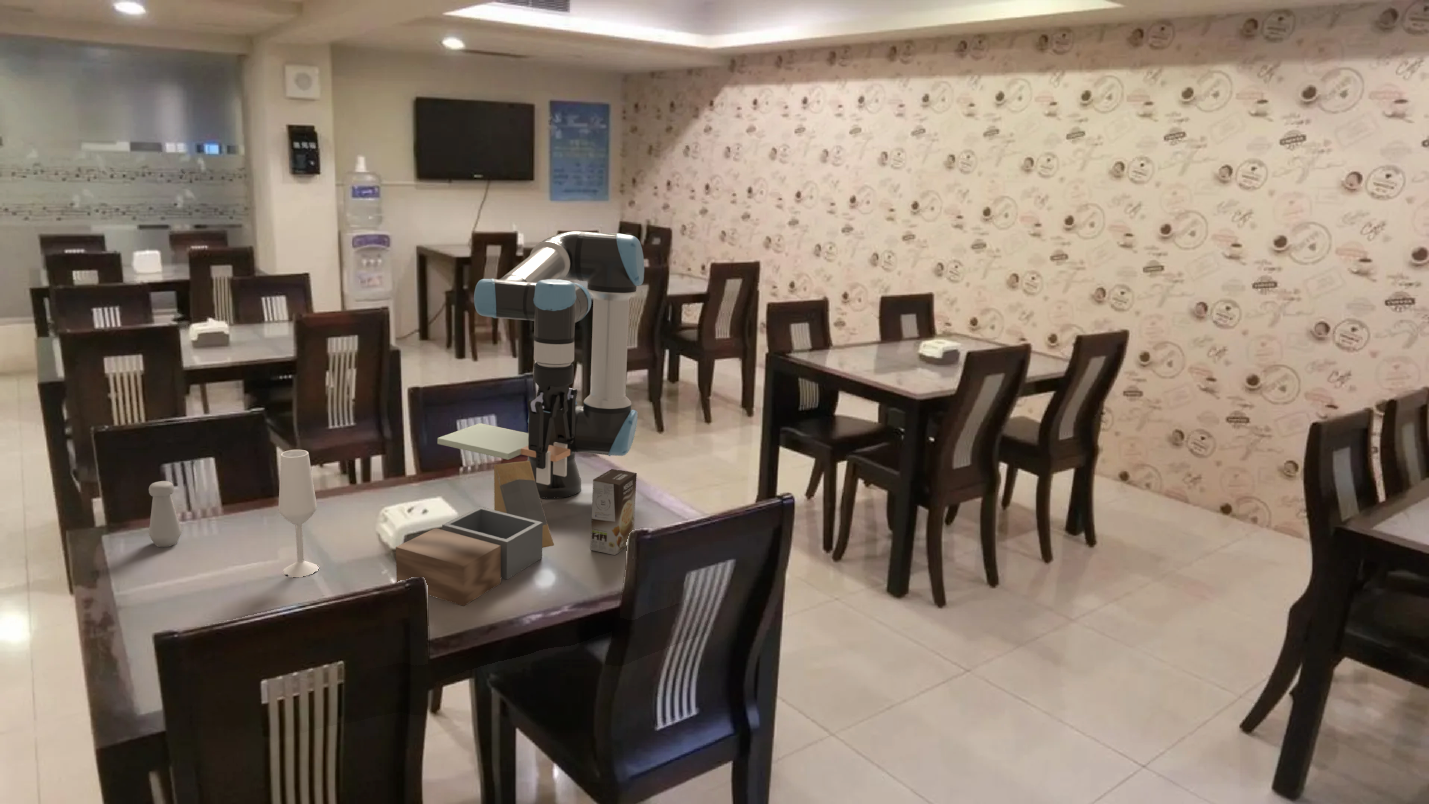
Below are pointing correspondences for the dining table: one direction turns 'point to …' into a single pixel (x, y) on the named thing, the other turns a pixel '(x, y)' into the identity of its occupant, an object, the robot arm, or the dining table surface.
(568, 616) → the dining table surface
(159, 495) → the salt shaker
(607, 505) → the coffee box
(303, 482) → the champagne flute
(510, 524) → the tub
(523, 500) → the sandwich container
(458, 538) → the stand
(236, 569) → the dining table surface
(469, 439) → the lid
